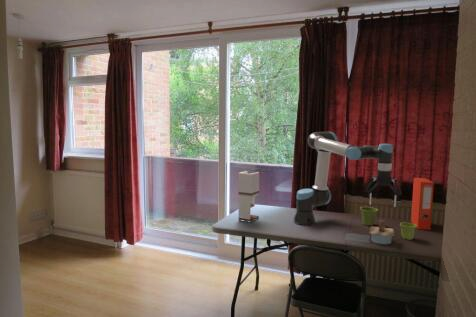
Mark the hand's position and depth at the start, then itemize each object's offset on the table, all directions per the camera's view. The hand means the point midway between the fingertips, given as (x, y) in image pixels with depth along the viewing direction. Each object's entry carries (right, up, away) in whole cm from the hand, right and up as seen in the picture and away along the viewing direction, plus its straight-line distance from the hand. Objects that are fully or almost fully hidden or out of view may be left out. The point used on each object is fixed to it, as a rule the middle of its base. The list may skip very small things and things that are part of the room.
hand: (382, 205), depth 206 cm
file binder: (+40, -19, +33) cm, 55 cm away
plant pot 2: (+19, -22, +8) cm, 30 cm away
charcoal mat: (-12, -22, +8) cm, 26 cm away
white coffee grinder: (-78, -17, +48) cm, 93 cm away
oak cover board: (0, -16, +2) cm, 16 cm away
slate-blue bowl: (0, -22, +2) cm, 22 cm away
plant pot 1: (+5, -18, +36) cm, 41 cm away
